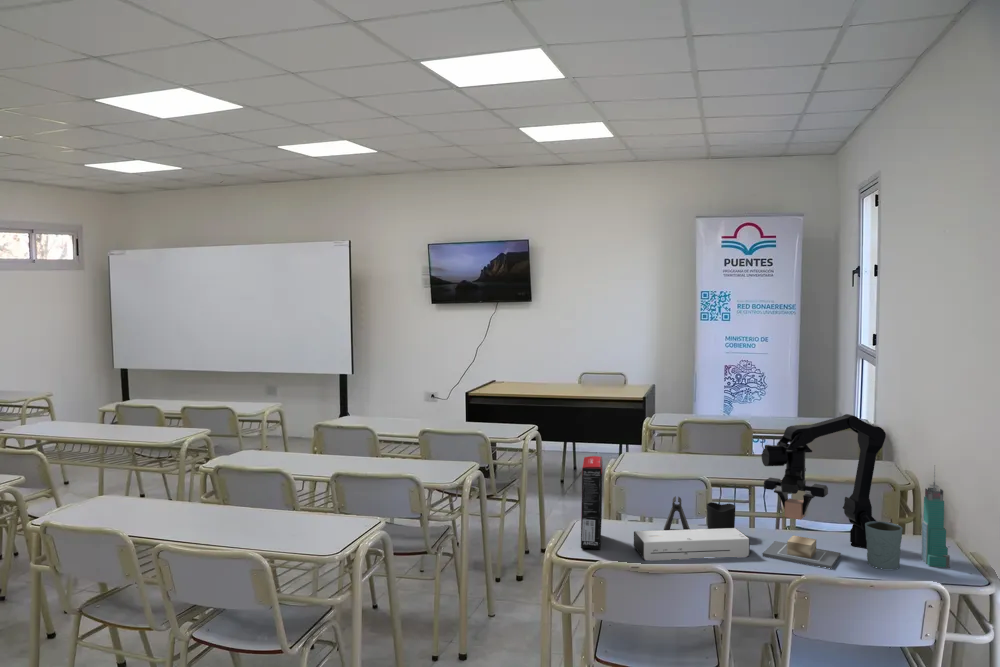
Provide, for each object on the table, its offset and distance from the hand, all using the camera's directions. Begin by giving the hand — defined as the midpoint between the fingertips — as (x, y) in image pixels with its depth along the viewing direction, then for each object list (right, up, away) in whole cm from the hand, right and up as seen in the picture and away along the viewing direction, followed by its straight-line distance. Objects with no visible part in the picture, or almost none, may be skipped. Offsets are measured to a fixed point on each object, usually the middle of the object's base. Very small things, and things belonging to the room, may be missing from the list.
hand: (795, 513), depth 239 cm
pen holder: (-20, -11, +14) cm, 27 cm away
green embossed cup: (+20, -12, -16) cm, 28 cm away
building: (+37, -12, -15) cm, 41 cm away
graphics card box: (-65, -11, +7) cm, 66 cm away
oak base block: (-1, -12, -8) cm, 14 cm away
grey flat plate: (-1, -12, -8) cm, 14 cm away
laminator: (-35, -12, -3) cm, 37 cm away
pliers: (-35, -11, +16) cm, 39 cm away
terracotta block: (0, -1, 0) cm, 1 cm away
